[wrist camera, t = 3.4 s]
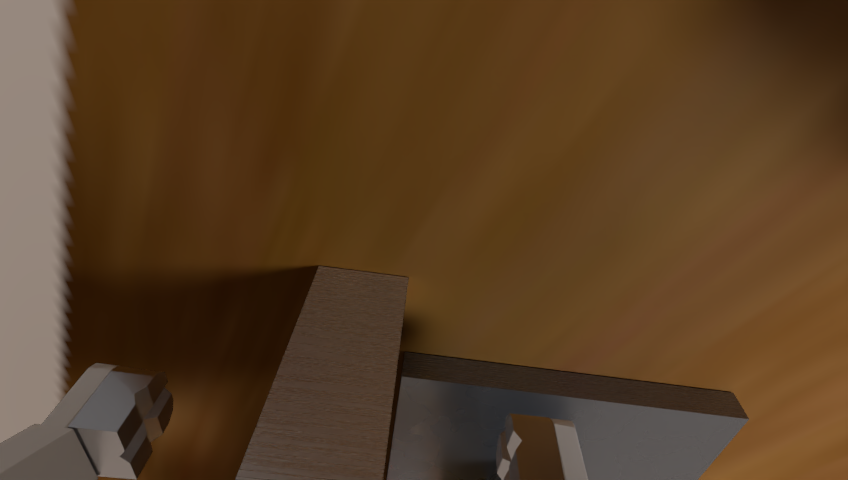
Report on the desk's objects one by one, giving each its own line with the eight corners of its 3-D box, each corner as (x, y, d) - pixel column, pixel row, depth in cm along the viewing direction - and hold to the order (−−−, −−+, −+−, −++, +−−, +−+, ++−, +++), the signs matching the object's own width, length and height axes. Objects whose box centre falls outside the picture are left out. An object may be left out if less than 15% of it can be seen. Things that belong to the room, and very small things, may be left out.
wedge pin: (318, 265, 13) (153, 688, 6) (408, 277, 14) (354, 710, 6) (319, 329, 15) (186, 733, 8) (400, 340, 15) (347, 750, 8)
